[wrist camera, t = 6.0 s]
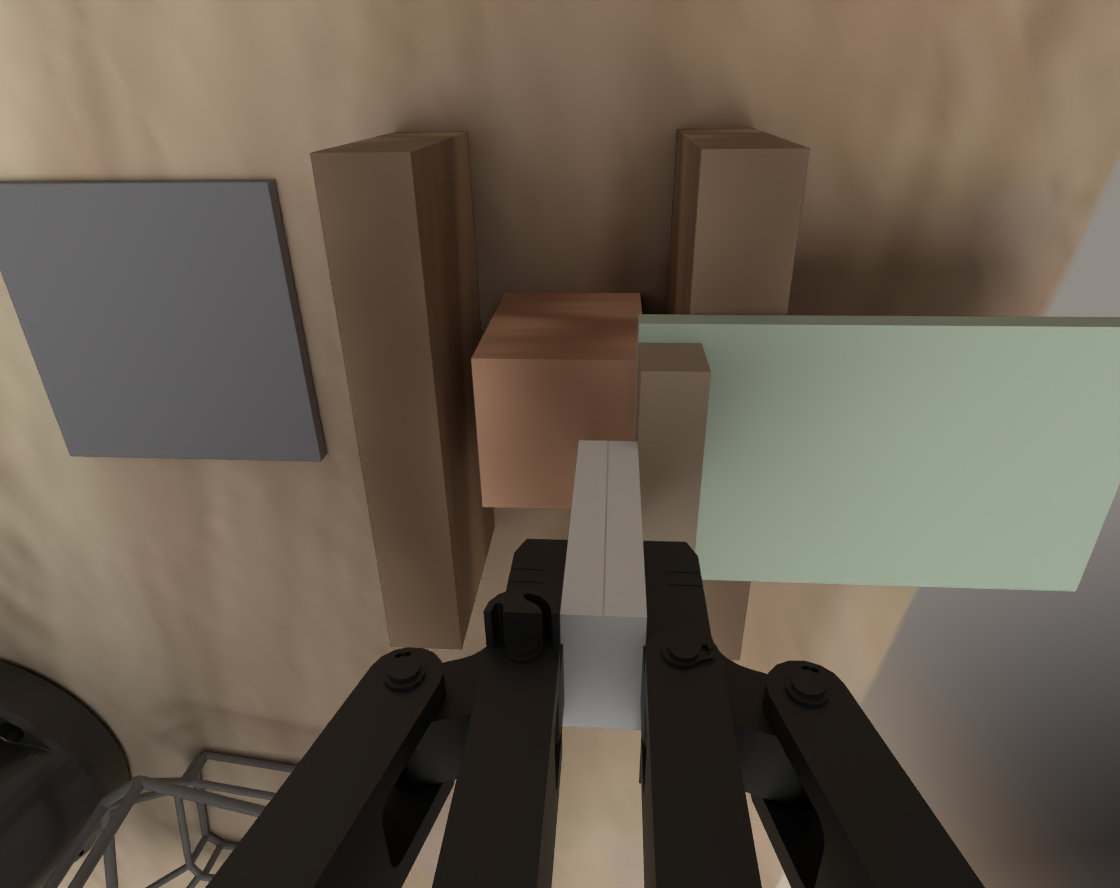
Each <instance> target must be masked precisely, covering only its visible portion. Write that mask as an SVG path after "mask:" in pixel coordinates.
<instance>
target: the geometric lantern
mask: <svg viewBox="0 0 1120 888" xmlns="http://www.w3.org/2000/svg"><path fill="white" fill-rule="evenodd" d="M207 759H210V760H216V761H222V762H229V763H235V764H241V765H248V766H254V767H260V768H266V769H273V770H279V771H285V772H292V771H293V770H294V769H295V767H296V766H295V765H288V764H282V763H276V762H270V761H263V760H257V759H251V758H244V757H238V756H232V755H226V754H219V753H213V752H208V751H205V752H203V753H202V754H201V755H200V756H199V757H198V758H197V759H196V760H195V761H193V762H192V763H191V765H190V766H189V768H188V769H187V770H186V772H185V773H184V775H183V776H182V777H176V778H149V777H145V776H137V777H134V778H132V779H131V780H129V781H127V782H126V783H124V784H123V785H121V786H120V787H118V788H117V789H115V790H114V791H112V792H111V793H109V794H108V795H106V796H105V797H104V798H102V799H101V801H100V802H99V803H98V805H97V807H96V808H95V810H94V811H93V813H92V814H91V816H90V817H89V819H88V820H87V822H86V823H85V825H84V826H83V828H82V830H81V831H80V833H79V834H78V836H77V837H76V839H75V840H74V842H73V843H72V845H71V846H70V848H69V849H68V851H67V852H66V854H65V855H64V857H63V858H62V860H61V861H60V863H59V864H58V866H57V867H56V869H55V870H54V871H53V873H52V874H51V876H50V877H49V879H48V880H47V882H46V883H45V885H44V886H43V888H57V887H58V886H59V884H60V883H61V881H62V880H63V878H64V877H65V875H66V874H67V872H68V870H69V869H70V867H71V866H72V864H73V863H74V861H75V860H76V858H77V857H78V855H79V854H80V852H81V850H82V849H83V847H84V846H85V844H86V843H87V841H88V840H89V838H90V836H91V835H92V833H93V832H94V830H95V829H96V827H97V826H98V824H99V823H100V822H101V833H102V834H101V835H100V837H99V838H98V840H97V842H96V843H95V845H94V846H93V848H92V850H91V851H90V853H89V854H88V856H87V858H86V859H85V861H84V862H83V864H82V865H81V867H80V869H79V870H78V872H77V873H76V875H75V877H74V878H73V880H72V881H71V883H70V885H69V886H68V888H83V886H84V884H85V883H86V881H87V879H88V878H89V876H90V875H91V873H92V871H93V870H94V868H95V866H96V865H97V863H98V861H99V860H100V858H101V856H102V855H104V865H105V876H106V887H107V888H118V877H117V864H116V852H115V839H114V835H115V833H116V832H117V830H118V828H119V827H120V825H121V824H122V822H123V820H124V819H125V817H126V815H127V814H128V812H129V811H130V809H131V807H132V806H133V804H135V803H139V802H142V801H146V800H150V799H154V798H158V797H161V796H165V795H170V796H174V800H175V806H176V811H177V817H178V823H179V828H180V834H181V840H182V845H183V851H184V857H185V862H186V864H184V865H183V866H181V867H179V868H178V869H176V870H174V871H173V872H171V873H169V874H168V875H166V876H164V877H163V878H161V879H159V880H157V881H156V882H154V883H152V884H151V885H149V886H147V887H146V888H158V887H160V886H162V885H163V884H165V883H167V882H168V881H170V880H172V879H173V878H175V877H177V876H178V875H180V874H182V873H183V872H185V871H187V870H188V869H189V870H190V871H191V872H192V873H193V874H194V875H195V877H194V878H193V879H192V881H191V882H190V883H189V885H188V886H187V887H186V888H194V887H195V886H196V885H197V883H198V882H199V881H200V880H203V881H211V880H212V878H213V877H214V876H215V874H209V872H210V870H211V869H212V867H213V865H214V863H215V861H216V859H217V858H218V856H219V854H220V852H221V850H222V849H226V850H234V849H235V848H236V846H237V845H238V844H234V843H228V842H224V841H222V840H221V839H219V838H217V837H216V836H214V835H212V834H211V833H209V831H208V824H207V817H206V810H205V804H207V805H211V806H215V807H219V808H223V809H227V810H231V811H235V812H239V813H243V814H247V815H251V816H255V817H259V815H260V814H261V813H262V811H263V810H264V809H265V807H266V806H263V805H259V804H255V803H250V802H246V801H242V800H238V799H234V798H230V797H226V796H222V795H218V794H214V793H210V792H206V791H203V789H202V788H205V789H211V790H216V791H222V792H228V793H233V794H239V795H245V796H250V797H256V798H262V799H267V800H271V799H272V798H273V797H274V795H275V794H276V793H273V792H267V791H262V790H256V789H250V788H245V787H239V786H233V785H228V784H222V783H216V782H211V781H205V780H201V775H200V771H201V770H202V768H203V766H204V764H205V762H206V760H207ZM188 785H189V786H194V787H195V789H194V788H190V787H187V786H188ZM143 789H146V790H150V791H151V792H147V793H144V794H140V793H141V791H142V790H143ZM139 794H140V795H139ZM124 796H125V797H124ZM123 797H124V799H121V798H123ZM183 799H186V800H190V801H194V802H197V805H198V812H199V819H200V825H201V832H202V836H203V837H202V838H201V840H200V842H199V843H198V845H197V847H196V849H195V850H194V852H193V854H192V853H191V847H190V841H189V835H188V829H187V823H186V817H185V811H184V805H183ZM116 808H117V810H116V811H115V813H114V815H113V814H112V809H116ZM207 840H208V841H210V842H211V843H213V844H215V845H216V846H217V847H216V849H215V850H214V852H213V854H212V856H211V858H210V859H209V861H208V863H207V865H206V867H205V868H204V870H203V871H202V870H201V869H199V868H198V867H197V866H196V865H195V864H194V863H195V861H196V859H197V858H198V856H199V854H200V852H201V851H202V849H203V847H204V846H205V844H206V842H207Z"/></svg>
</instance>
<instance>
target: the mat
mask: <svg viewBox="0 0 1120 888" xmlns="http://www.w3.org/2000/svg"><path fill="white" fill-rule="evenodd" d="M0 271H1V273H2V276H3V278H4V281H5V284H6V286H7V289H8V292H9V294H10V297H11V300H12V302H13V305H14V308H15V310H16V313H17V316H18V318H19V321H20V324H21V326H22V329H23V331H24V334H25V337H26V339H27V342H28V345H29V347H30V350H31V353H32V355H33V358H34V361H35V363H36V366H37V369H38V371H39V374H40V377H41V379H42V382H43V385H44V387H45V390H46V392H47V395H48V398H49V400H50V403H51V406H52V408H53V411H54V414H55V416H56V419H57V422H58V424H59V427H60V430H61V432H62V435H63V438H64V440H65V443H66V445H67V448H68V451H69V453H70V456H86V457H134V458H183V459H231V460H279V461H322V460H323V458H324V457H325V456H326V450H325V445H324V440H323V434H322V429H321V424H320V418H319V413H318V408H317V402H316V397H315V392H314V386H313V381H312V376H311V370H310V365H309V360H308V355H307V349H306V344H305V339H304V333H303V328H302V323H301V317H300V312H299V307H298V301H297V296H296V291H295V286H294V280H293V275H292V270H291V264H290V259H289V254H288V248H287V243H286V238H285V232H284V227H283V222H282V217H281V211H280V206H279V201H278V195H277V190H276V185H275V180H232V181H85V182H0Z"/></svg>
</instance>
